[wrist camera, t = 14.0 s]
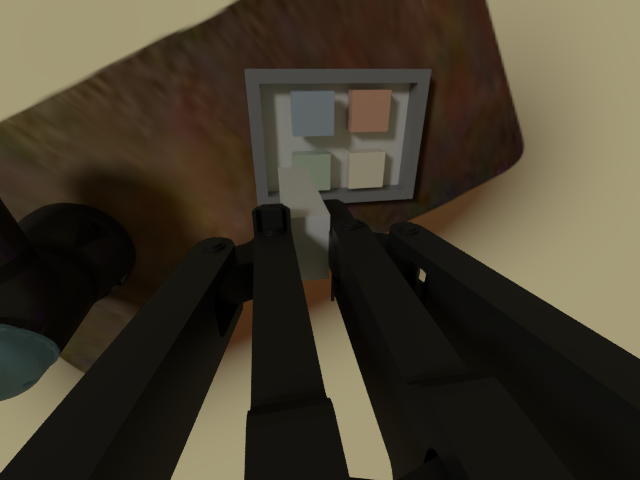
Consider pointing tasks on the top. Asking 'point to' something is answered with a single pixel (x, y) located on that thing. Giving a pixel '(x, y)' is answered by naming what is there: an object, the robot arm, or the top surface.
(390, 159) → the grey tray
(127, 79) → the top surface
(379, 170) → the key cream
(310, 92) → the key slate
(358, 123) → the key terracotta
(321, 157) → the key sage
